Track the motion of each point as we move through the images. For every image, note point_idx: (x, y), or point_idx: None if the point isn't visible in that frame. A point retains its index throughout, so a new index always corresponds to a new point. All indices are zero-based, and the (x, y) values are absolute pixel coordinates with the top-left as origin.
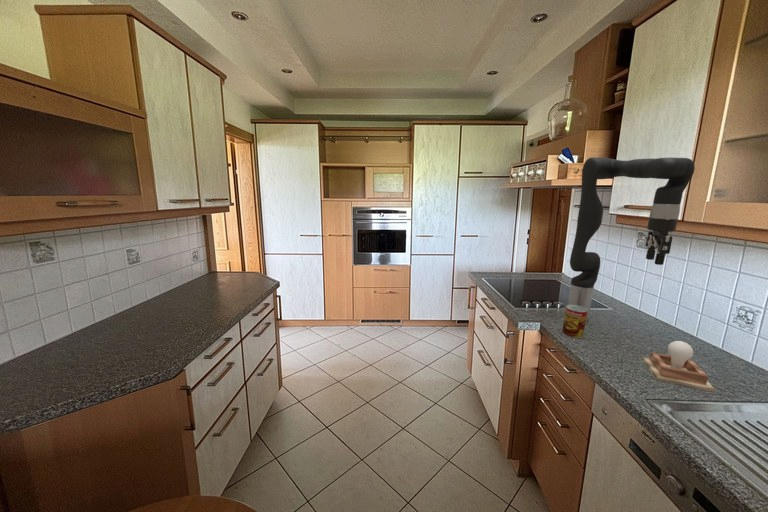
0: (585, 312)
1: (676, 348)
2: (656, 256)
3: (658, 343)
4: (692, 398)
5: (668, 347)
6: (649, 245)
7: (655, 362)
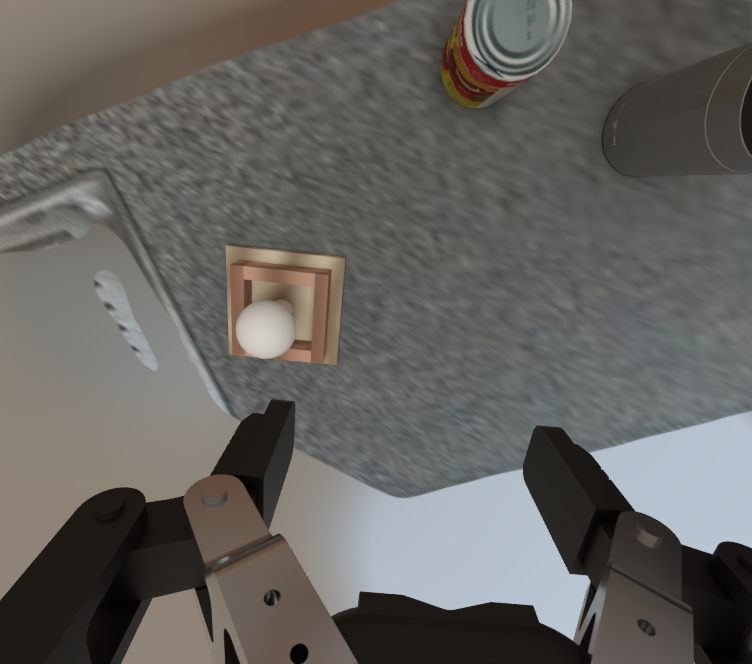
0: (473, 62)
1: (243, 314)
2: (252, 450)
3: (474, 348)
4: (174, 289)
5: (269, 302)
6: (604, 568)
7: (288, 268)
